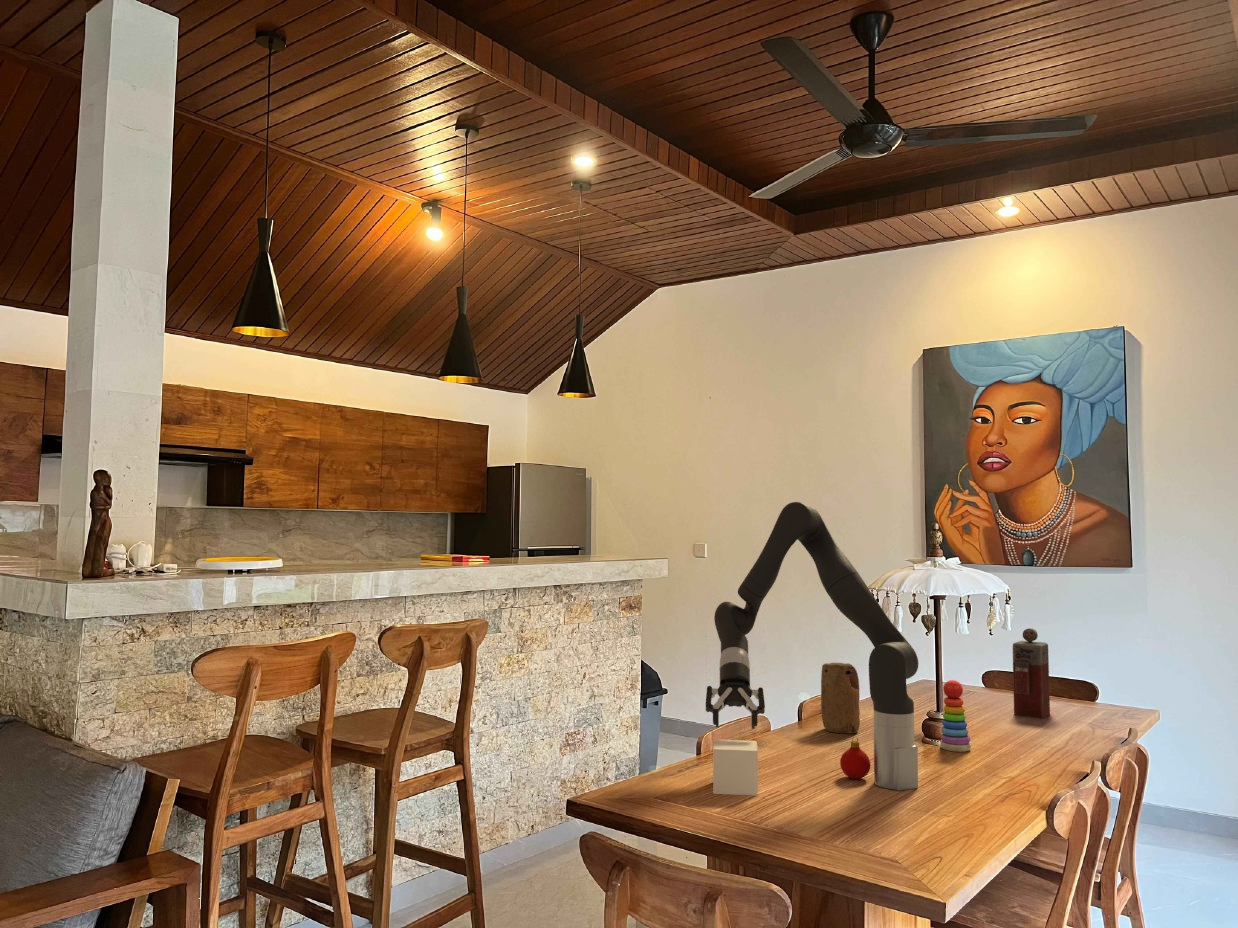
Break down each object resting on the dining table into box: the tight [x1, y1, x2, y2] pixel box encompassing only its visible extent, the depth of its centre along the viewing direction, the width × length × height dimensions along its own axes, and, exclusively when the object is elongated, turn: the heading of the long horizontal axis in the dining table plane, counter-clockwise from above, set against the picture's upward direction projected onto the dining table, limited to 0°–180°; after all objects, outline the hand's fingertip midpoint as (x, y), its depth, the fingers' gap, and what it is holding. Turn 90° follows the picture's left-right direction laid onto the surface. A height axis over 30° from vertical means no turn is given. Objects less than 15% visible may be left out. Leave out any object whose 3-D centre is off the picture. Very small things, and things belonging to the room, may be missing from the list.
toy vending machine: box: [1012, 627, 1051, 719], centre depth 294 cm, size 9×11×28 cm
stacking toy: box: [939, 679, 972, 753], centre depth 247 cm, size 8×8×19 cm
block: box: [820, 662, 861, 735], centre depth 268 cm, size 11×8×20 cm
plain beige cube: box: [712, 739, 759, 797], centre depth 208 cm, size 10×10×10 cm
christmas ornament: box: [839, 736, 871, 780], centre depth 217 cm, size 7×7×10 cm
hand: (735, 726), depth 213 cm, fingers open, 8 cm apart
